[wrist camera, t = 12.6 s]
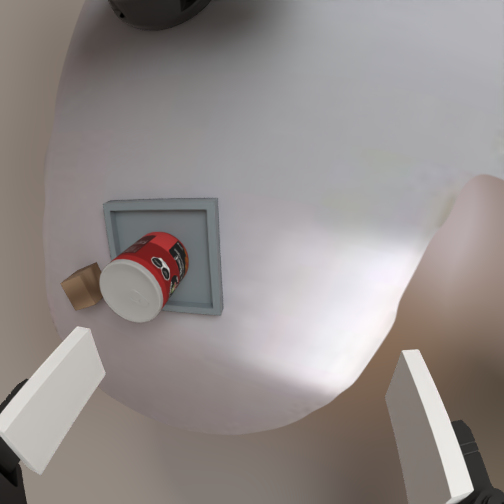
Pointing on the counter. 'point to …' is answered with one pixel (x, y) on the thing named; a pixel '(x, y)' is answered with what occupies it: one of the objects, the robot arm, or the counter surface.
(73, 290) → the walnut block
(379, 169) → the counter surface
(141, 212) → the tray
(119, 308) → the canned food
